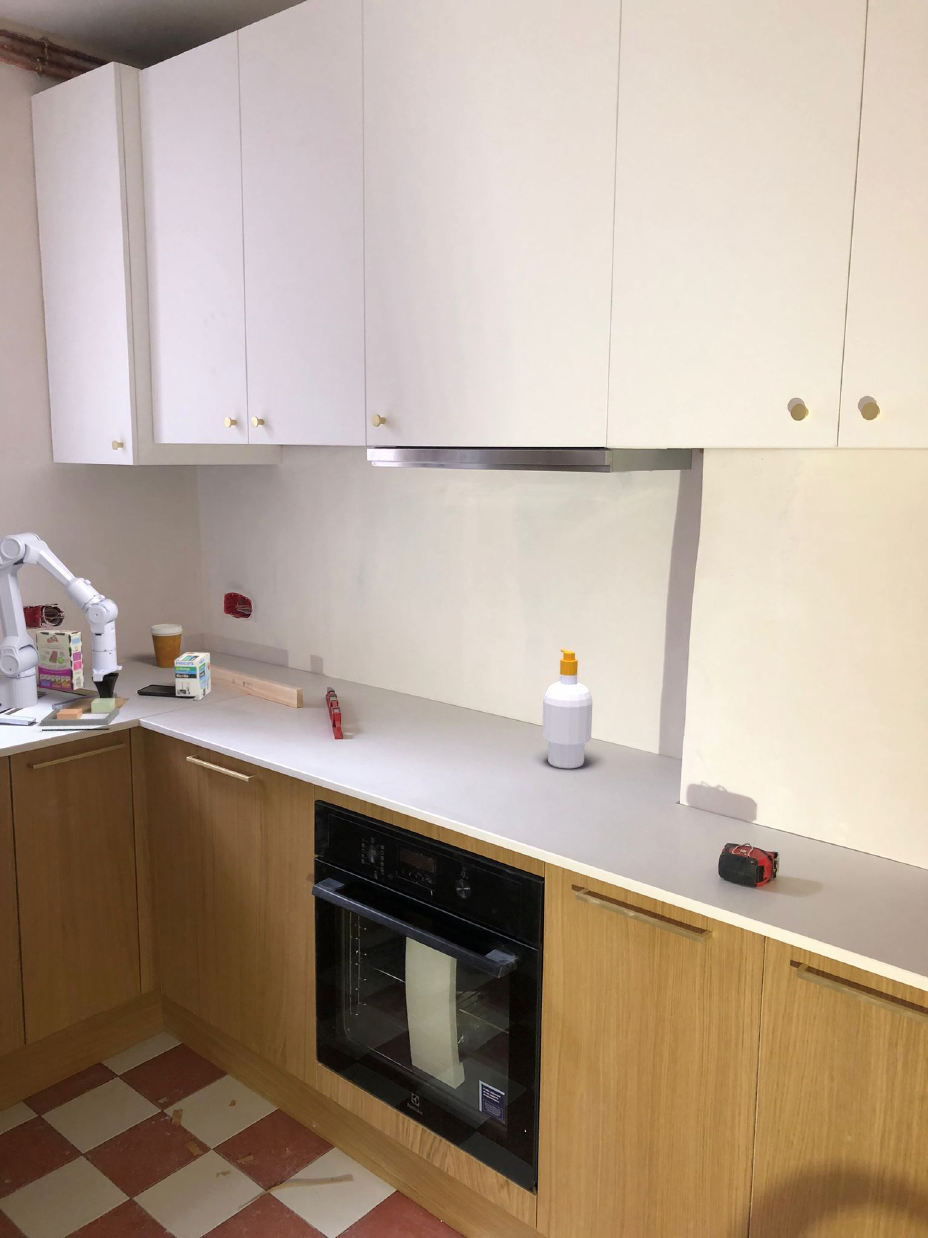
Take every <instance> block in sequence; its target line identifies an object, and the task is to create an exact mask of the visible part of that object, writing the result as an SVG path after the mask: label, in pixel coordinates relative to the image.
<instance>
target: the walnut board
mask: <svg viewBox="0 0 928 1238" xmlns="http://www.w3.org/2000/svg"><path fill="white" fill-rule="evenodd" d="M114 698H115V708H119V710H120V709H121V708H122V707H123V706H124V704H126V703H127V702H128V701H129V699H130V697H127V698H126V697H124V698H123V697H121V698H120V697H119V698H116V697H114ZM78 699H79V700H77V699H76V700H74V701H73V702H72V703H71V704H70V705H68V706H67V707H66V708H65V709H82V715H92V714H93V715H97V714H102V715H103V714H105V715H106V714H107V713H92V711H91V703H92V702H93V701H94V700H95V699H96V698H78Z"/></svg>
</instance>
